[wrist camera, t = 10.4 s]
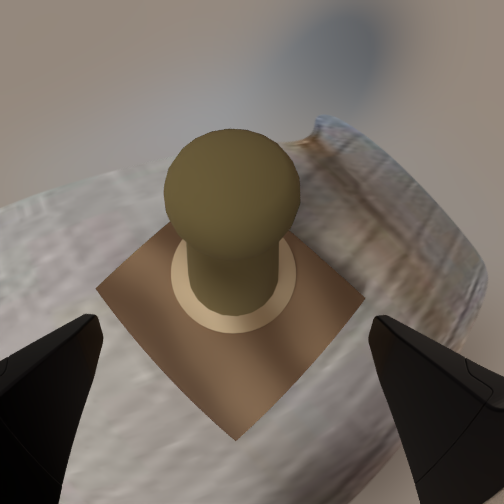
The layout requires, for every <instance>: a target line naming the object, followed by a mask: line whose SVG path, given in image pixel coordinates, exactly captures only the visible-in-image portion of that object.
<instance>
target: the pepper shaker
mask: <svg viewBox="0 0 504 504" xmlns="http://www.w3.org/2000/svg"><path fill="white" fill-rule="evenodd" d="M164 200H165V208H166V213H167V215H168V217H169V220H170V221H171V223H172V225H173V227H174V228H175V230H176V232H177V234H178V235H179V236H180V237H181V238H182V239H183V240H184V241H186V247H187V265H188V276H189V282H190V287H191V289H192V291H193V293H194V294H195V296H196V298H197V299H198V301H200V302H201V303H202V304H203V305H204V306H205V307H206V308H208V309H209V310H211V311H214V312H216V313H218V314H221V315H227V316H240V315H245V314H249V313H252V312H254V311H255V310H257V309H259V308H260V307H262V306H264V305H265V304H266V302H267V301H268V300H269V299H270V298H271V296H272V295H273V294H274V291H275V288H276V286H277V283H278V273H279V241H280V240H281V239H282V238H283V236H284V235H285V234H286V233H287V232H288V231H289V230H290V228H291V226H292V224H293V221H294V219H295V216H296V213H297V211H298V208H299V205H300V181H299V176H298V173H297V171H296V168H295V166H294V164H293V161H292V160H291V159H290V157H289V156H288V155H287V154H286V153H285V151H284V150H283V149H282V148H281V147H280V146H279V145H278V144H277V143H276V142H274V141H272V140H271V139H269V138H267V137H266V136H264V135H262V134H259V133H255V132H252V131H249V130H241V129H224V130H218V131H212V132H209V133H207V134H205V135H203V136H200V137H198V138H195V139H194V140H193V141H192V142H190V143H189V144H188V145H186V146H185V147H184V148H183V149H182V150H181V152H180V153H179V154H178V156H177V157H176V158H175V160H174V161H173V163H172V164H171V166H170V167H169V169H168V173H167V177H166V180H165V184H164Z"/></svg>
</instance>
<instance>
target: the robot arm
mask: <svg viewBox="0 0 504 504" xmlns="http://www.w3.org/2000/svg"><path fill="white" fill-rule="evenodd" d="M102 344H103V333H102V330H101V326H100V323H99V319H98V317H97V316H96V315H94V314H84V315H82V316H80V317H78V318H77V319H75V320H73V321H71V322H69V323H67V324H66V325H64V326H62V327H60V328H58V329H56V330H55V331H53V332H51V333H49V334H47V335H46V336H44V337H42V338H40V339H38V340H37V341H35V342H33V343H31V344H30V345H28V346H26V347H24V348H22V349H21V350H19V351H17V352H15V353H14V354H12V355H10V356H9V357H6V358H5V359H3V360H1V361H0V504H59V499H60V494H61V490H62V484H63V480H64V476H65V472H66V468H67V464H68V460H69V456H70V452H71V449H72V445H73V441H74V438H75V435H76V431H77V428H78V425H79V421H80V418H81V415H82V412H83V409H84V406H85V403H86V400H87V397H88V394H89V391H90V388H91V385H92V382H93V379H94V376H95V372H96V367H97V363H98V359H99V355H100V351H101V348H102ZM369 345H370V349H371V352H372V356H373V360H374V363H375V367H376V371H377V375H378V378H379V381H380V384H381V386H382V389H383V392H384V394H385V397H386V400H387V402H388V405H389V408H390V410H391V413H392V416H393V419H394V422H395V424H396V427H397V430H398V433H399V436H400V439H401V442H402V445H403V448H404V451H405V454H406V457H407V460H408V463H409V466H410V469H411V473H412V476H413V479H414V483H415V486H416V490H417V493H418V497H419V500H420V504H504V377H503V376H501V375H499V374H497V373H495V372H492V371H490V370H488V369H486V368H484V367H482V366H480V365H478V364H476V363H475V362H473V361H471V360H469V359H467V358H465V357H463V356H461V355H460V354H458V353H456V352H454V351H452V350H451V349H449V348H447V347H445V346H443V345H441V344H439V343H438V342H436V341H434V340H432V339H430V338H428V337H427V336H425V335H423V334H421V333H419V332H417V331H415V330H414V329H412V328H410V327H408V326H406V325H404V324H402V323H401V322H399V321H397V320H395V319H393V318H391V317H389V316H387V315H379V316H376V317H375V318H374V319H373V323H372V326H371V330H370V333H369Z"/></svg>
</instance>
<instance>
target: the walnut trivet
mask: <svg viewBox="0 0 504 504" xmlns="http://www.w3.org/2000/svg"><path fill="white" fill-rule="evenodd" d="M96 290H97V291H98V293H99V294H100V295H101V297H102V298H103V299H104V301H105V302H106V303H107V305H108V306H109V307H110V309H111V310H112V311H113V313H114V314H115V315H116V317H117V318H118V319H119V320H120V322H121V323H122V324H123V325H124V327H125V328H126V329H127V330H128V332H129V333H130V334H131V335H132V336H133V338H134V339H135V340H136V341H137V342H138V344H139V345H140V346H141V347H142V348H143V349H144V351H145V352H146V353H147V354H148V355H149V356H150V357H151V359H152V360H153V361H154V362H155V363H156V364H157V365H158V366H159V368H160V369H161V370H162V371H163V372H164V373H165V374H166V375H167V376H168V377H169V378H170V379H171V380H172V381H173V382H174V384H175V385H176V386H177V387H178V388H179V389H180V390H181V391H182V392H183V393H184V394H185V395H186V396H187V397H188V398H189V399H190V400H191V401H192V402H193V403H194V404H195V405H196V406H197V407H198V408H199V409H201V410H202V411H203V412H204V413H205V414H206V415H207V416H208V417H209V418H210V419H211V420H212V421H213V422H214V423H216V424H217V425H218V426H219V427H220V428H221V429H222V430H223V431H225V432H226V433H227V434H228V435H229V436H230V437H231V438H233V439H234V440H235V441H236V440H238V439H239V438H240V437H241V436H242V435H243V434H244V433H245V432H246V431H247V430H248V429H249V428H251V427H252V426H253V425H254V424H255V423H256V422H257V421H258V420H259V419H260V418H261V417H262V416H263V415H264V414H265V413H266V412H267V411H268V410H269V409H270V408H271V407H272V406H273V405H274V404H275V403H276V402H277V401H278V400H279V399H280V398H281V397H282V396H283V395H284V394H285V393H286V392H287V391H288V390H289V388H290V387H291V386H292V385H293V384H294V383H295V382H296V381H297V380H298V379H299V378H300V377H301V376H302V374H303V373H304V372H305V371H306V370H307V369H308V368H309V367H310V366H311V364H312V363H313V362H314V361H315V360H316V359H317V358H318V357H319V355H320V354H321V353H322V352H323V351H324V350H325V348H326V347H327V346H328V345H329V344H330V342H331V341H332V340H333V339H334V338H335V336H336V335H337V334H338V333H339V332H340V330H341V329H342V328H343V327H344V325H345V324H346V323H347V322H348V320H349V319H350V318H351V317H352V315H353V314H354V313H355V311H356V310H357V309H358V308H359V306H360V305H361V304H362V302H363V301H364V300H365V297H364V296H363V295H361V294H360V293H359V292H358V291H357V290H356V289H355V288H354V287H353V286H352V285H350V284H349V283H348V282H347V281H346V280H345V279H344V278H343V277H342V276H340V275H339V274H338V273H337V272H336V271H335V270H334V269H333V268H332V267H330V266H329V265H328V264H327V263H326V262H325V261H324V260H323V259H321V258H320V257H319V256H318V255H317V254H316V253H315V252H313V251H312V250H311V249H310V248H309V247H308V246H307V245H305V244H304V243H303V242H302V241H301V240H300V239H298V238H297V237H296V236H295V235H294V234H293V233H291V232H290V231H288V232H287V233H286V234H285V235H284V236H283V238H282V239H281V240H280V241H279V273H278V283H277V286H276V288H275V291H274V294H273V295H272V296H271V298H270V299H269V300H268V301H267V302H266V304H265V305H264V306H262V307H260V308H259V309H257V310H255V311H254V312H252V313H249V314H245V315H240V316H227V315H221V314H218V313H216V312H214V311H211V310H209V309H208V308H206V307H205V306H204V305H203V304H202V303H201V302H200V301H198V299H197V298H196V296H195V294H194V293H193V291H192V289H191V287H190V282H189V276H188V265H187V247H186V241H184V240H183V239H182V238H181V237H180V236H179V235H178V234H177V232H176V230H175V228H174V227H173V225H172V223H171V221H170V222H169V223H168V224H166V225H165V226H164V227H163V228H162V229H161V230H159V231H158V232H157V233H156V234H155V235H154V236H153V237H151V238H150V239H149V240H148V241H147V242H146V243H145V244H143V245H142V246H141V247H140V248H139V249H138V250H137V251H135V252H134V253H133V254H132V255H131V256H130V257H129V258H128V259H127V260H126V261H124V262H123V263H122V264H121V265H120V266H119V267H118V268H117V269H116V270H115V271H114V272H112V273H111V274H110V275H109V276H108V277H107V278H106V279H105V280H104V281H103V282H102V283H101V284H100V285H99V286H98V287H97V288H96Z"/></svg>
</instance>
